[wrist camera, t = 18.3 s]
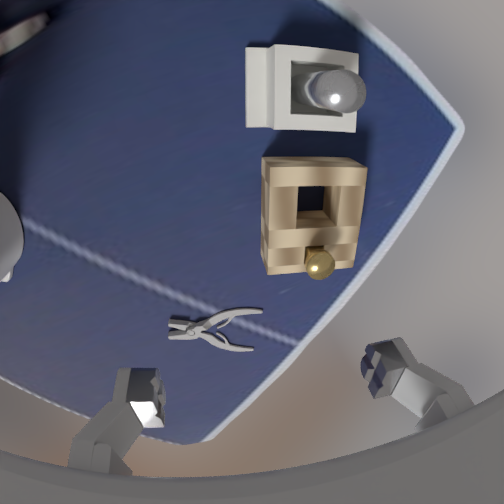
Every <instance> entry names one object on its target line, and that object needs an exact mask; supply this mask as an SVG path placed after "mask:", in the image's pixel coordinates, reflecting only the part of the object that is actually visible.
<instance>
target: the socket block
mask: <svg viewBox="0 0 504 504" xmlns="http://www.w3.org/2000/svg"><path fill="white" fill-rule="evenodd" d="M366 177H367V167H365V166H363V165H361V164H360V163H358V162H356V161H354V160H352V159H351V158H347V157H262V187H261V256H262V259H263V262H264V265H265V268H266V271H267V274H268V275H274V274H285V273H297V272H307V270H306V268H305V259H304V255H305V246H320V245H321V246H322V248H323V249H324V250H327V251H328V252H329V253H330V254H331V255H332V257H333V258H334V260H335V269H340V268H351V267H353V264H354V258H355V253H356V247H357V241H358V235H359V228H360V222H361V215H362V208H363V201H364V193H365V185H366ZM298 186H325V187H324V199H323V210H319V211H297V199H298Z"/></svg>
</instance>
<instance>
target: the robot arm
mask: <svg viewBox="0 0 504 504" xmlns="http://www.w3.org/2000/svg"><path fill="white" fill-rule="evenodd" d="M23 242H24V240H23V230H22V226H21V223H20V220H19V217H18V215H17V213H16V211H15V209H14V207H13V206H12V204H11V203H10V202H9V200H8V199H7V198H6V197H5V196H4V195H3V194H2V193H0V282H1V281H4V282H7V281H9V280H10V279H11V277H12V274H13V267H14V265H15V264H16V262H17V261H18V260H19V258H20V256H21V254H22V250H23ZM365 352H366V355H365V356H364V357H363V358H362V361H361V372H362V375H363V377H364V379H365V380H367V381H368V382H369V386H368V388H369V390H370V392H371V394H372V396H373V398H374V399H376V398H380V397H384V396H388V395H392V397H394V398H395V399H396V400H398V401H399V402H400V403H401V404H403V405H404V406H405V407H407V408H408V409H409V410H410V411H412V412H413V413H414V414H416V415H417V416H418V417H420V418H421V420H420V421H419V422H418V424H417V425H416V426H415V431H416V433H414V434H411V435H408V436H406V437H403V438H401V439H398V440H395V441H392V442H389V443H386V444H383V445H380V446H377V447H374V448H371V449H367V450H364V451H361V452H357V453H354V454H350V455H346V456H342V457H339V458H334V459H331V460H327V461H322V462H317V463H313V464H308V465H303V466H298V467H292V468H286V469H280V470H273V471H267V472H259V473H250V474H240V475H229V476H214V477H190V478H189V477H185V478H184V477H183V478H182V477H181V478H180V477H172V478H171V477H144V476H132V470H131V469H130V468H129V467H128V466H127V465H126V464H125V463H124V461H123V460H122V459H123V457H124V456H125V454H126V453H127V452H128V450H129V449H130V447H131V445H132V444H133V443H134V442H135V440H136V439H137V437H138V436H139V434H140V433H141V432H142V430H143V428H145V427H164V424H165V412H164V409H163V406H164V404H165V399H166V396H165V387H164V383H163V381H162V380H161V379H160V372H159V369H158V368H119V370H118V372H117V377H116V382H115V387H114V392H113V398H112V402H108V403H107V404H106V405H105V406H104V407H103V408H102V409H101V410H100V411H99V412H98V413H97V414H96V415H95V416H94V417H93V418H92V419H91V420H90V421H89V422H88V424H86V426H84V428H83V429H82V430H81V431H80V432H79V433H78V434H77V435H76V436H75V437H74V438H73V439H72V444H71V450H70V455H69V460H68V466H67V467H64V466H59V465H54V464H50V463H45V462H40V461H37V460H33V459H29V458H25V457H22V456H18V455H15V454H12V453H9V452H5V451H2V450H0V504H504V390H502V391H500V392H499V393H497V394H495V395H494V396H492V397H490V398H488V399H486V400H485V401H483V402H481V403H479V404H477V405H474V403H473V402H472V400H471V399H470V397H469V395H468V394H467V393H466V391H465V389H464V388H463V386H462V385H460V384H459V383H457V382H455V381H453V380H451V379H450V378H448V377H446V376H444V375H442V374H441V373H438V372H437V371H435V370H433V369H431V368H430V367H428V366H426V365H424V364H422V363H418V362H417V360H416V359H415V357H414V356H413V354H412V353H411V351H410V350H409V348H408V347H407V345H406V343H405V342H404V340H403V339H402V338H400V337H398V338H394V339H390V340H384V341H380V342H375V343H371V344H368V345H367V346H366V349H365Z"/></svg>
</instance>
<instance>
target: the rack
mask: <svg viewBox="0 0 504 504" xmlns="http://www.w3.org/2000/svg"><path fill="white" fill-rule="evenodd" d="M343 69H345V70H350V71H353V72H355V73H356V74H358V54H357V53H351V52H345V51H338V50H331V49H323V48H315V47H305V46H294V45H279V44H274V45H273V46H271V47H270V48H253V47H246V48H245V109H246V127H271V128H272V129H274V130H319V131H338V132H353V133H355V132H356V116H357V111H355V112H352V113H341V112H337V111H332V110H328V109H323V108H319V107H314V106H309V105H304V104H299V103H297V102H295V101H294V100H293V99H292V98H291V78H292V77H294V76H295V75H297V74H300V73H309V72H319V71H330V70H343Z"/></svg>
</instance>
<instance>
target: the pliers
mask: <svg viewBox="0 0 504 504" xmlns="http://www.w3.org/2000/svg"><path fill="white" fill-rule="evenodd" d="M257 313H262V310H261V309H254V308H237V309H231V310H226V311H223V312H219V313H217V314H215V315H213V316H212V317H210V318H208V319H206V320H203V321H199V322H198V323H195V322H191V321H184V320H175V319H169V322H168V326H169V327H173V328H177V329H181V330H177V331H169V333H168V337H169V339H184V340H189V339H197V338H198V337H201V338H203V339H205V340H207V341H208V342H209V343H211V344H212V345H214V346H216V347H219V348H222V349H226V350H231V351H253V349H254V348H253V347H243V346H237V345H232V344H230V343H229V342H228V341H227V339H226V337H225V336H224V335H222V334H221V333H219V332H216V334H217V335H219V336H221V337H222V338H223V339H224V340H225V342H223V341H220V340H219V339H217V338H216V337H215V336H213V335H212V334H209V333H205V332H201V331H204V330H208V329H209V328H210V327H211V326H213V325H214V324H216V323H218V322H220V321H221V320H223V319H226V318H228V320H227V321H226V322H225V323H223V324H221V325H218V326H217V328H220V327H223V326H225V325H226V324H228V323H229V322H230V321H231V319H232V318H233V317H235V316H238V315H245V314H257ZM186 329H187V330H186Z"/></svg>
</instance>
